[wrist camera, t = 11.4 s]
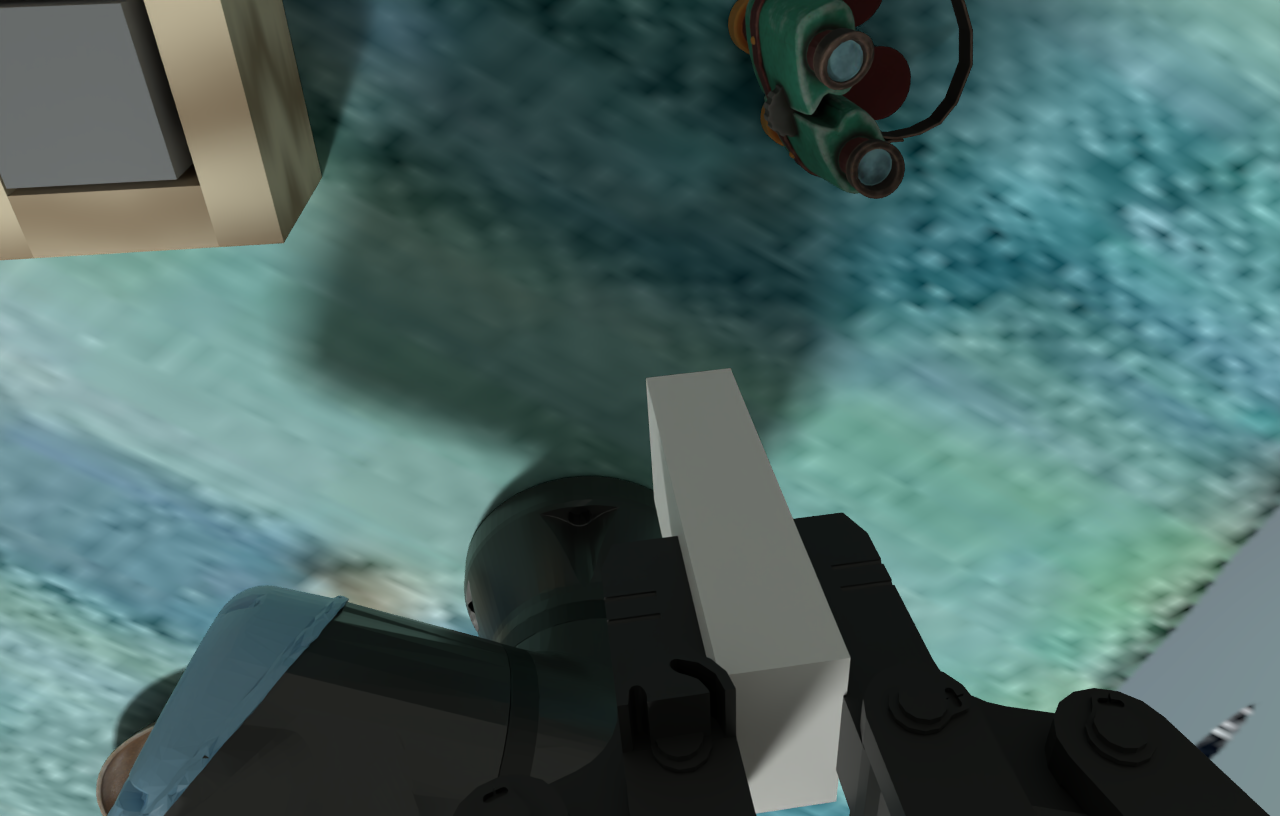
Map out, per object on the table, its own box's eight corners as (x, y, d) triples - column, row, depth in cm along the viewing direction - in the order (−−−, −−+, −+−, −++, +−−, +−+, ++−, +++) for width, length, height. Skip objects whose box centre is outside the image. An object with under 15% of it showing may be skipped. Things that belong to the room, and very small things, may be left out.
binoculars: (1070, 134, 34) (840, 249, 35) (938, 82, 43) (756, 174, 44) (1035, -108, 29) (768, 30, 30) (895, -111, 38) (690, -4, 39)
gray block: (235, 120, 39) (176, 179, 32) (95, 127, 39) (6, 188, 32) (195, -29, 36) (120, 3, 29) (41, -23, 35) (-71, 10, 29)
